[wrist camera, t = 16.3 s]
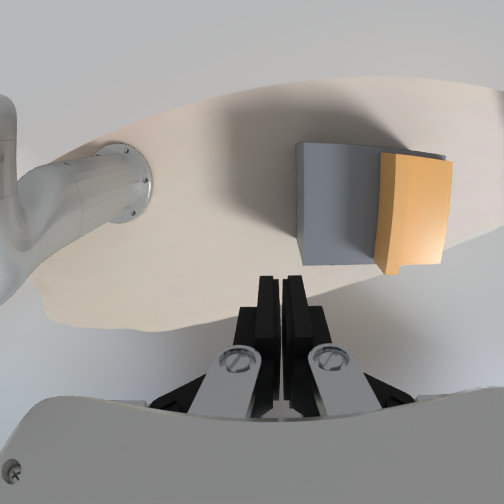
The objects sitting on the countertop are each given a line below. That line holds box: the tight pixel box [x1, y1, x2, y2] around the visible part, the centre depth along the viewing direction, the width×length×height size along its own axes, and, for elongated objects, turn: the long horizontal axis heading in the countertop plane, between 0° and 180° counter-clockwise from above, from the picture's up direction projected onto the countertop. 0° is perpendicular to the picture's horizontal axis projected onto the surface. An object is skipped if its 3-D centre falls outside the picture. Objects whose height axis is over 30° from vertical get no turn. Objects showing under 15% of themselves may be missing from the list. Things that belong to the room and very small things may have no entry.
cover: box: [373, 152, 453, 275], centre depth 26 cm, size 9×12×4 cm
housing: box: [296, 143, 446, 266], centre depth 33 cm, size 18×14×10 cm
